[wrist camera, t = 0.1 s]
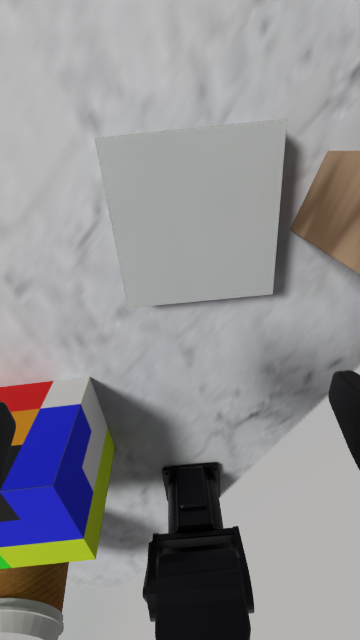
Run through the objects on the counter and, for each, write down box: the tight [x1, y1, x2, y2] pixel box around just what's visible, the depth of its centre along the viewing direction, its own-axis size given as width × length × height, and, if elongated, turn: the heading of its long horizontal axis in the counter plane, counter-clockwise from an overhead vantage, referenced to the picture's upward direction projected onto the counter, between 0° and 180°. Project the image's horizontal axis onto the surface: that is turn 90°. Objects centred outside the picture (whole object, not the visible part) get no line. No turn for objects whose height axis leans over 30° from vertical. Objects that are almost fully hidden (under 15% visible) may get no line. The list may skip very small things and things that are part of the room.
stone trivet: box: [95, 119, 287, 308], centre depth 19 cm, size 10×10×3 cm
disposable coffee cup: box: [0, 562, 69, 640], centre depth 31 cm, size 10×10×12 cm
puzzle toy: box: [0, 377, 115, 569], centre depth 25 cm, size 10×10×10 cm
